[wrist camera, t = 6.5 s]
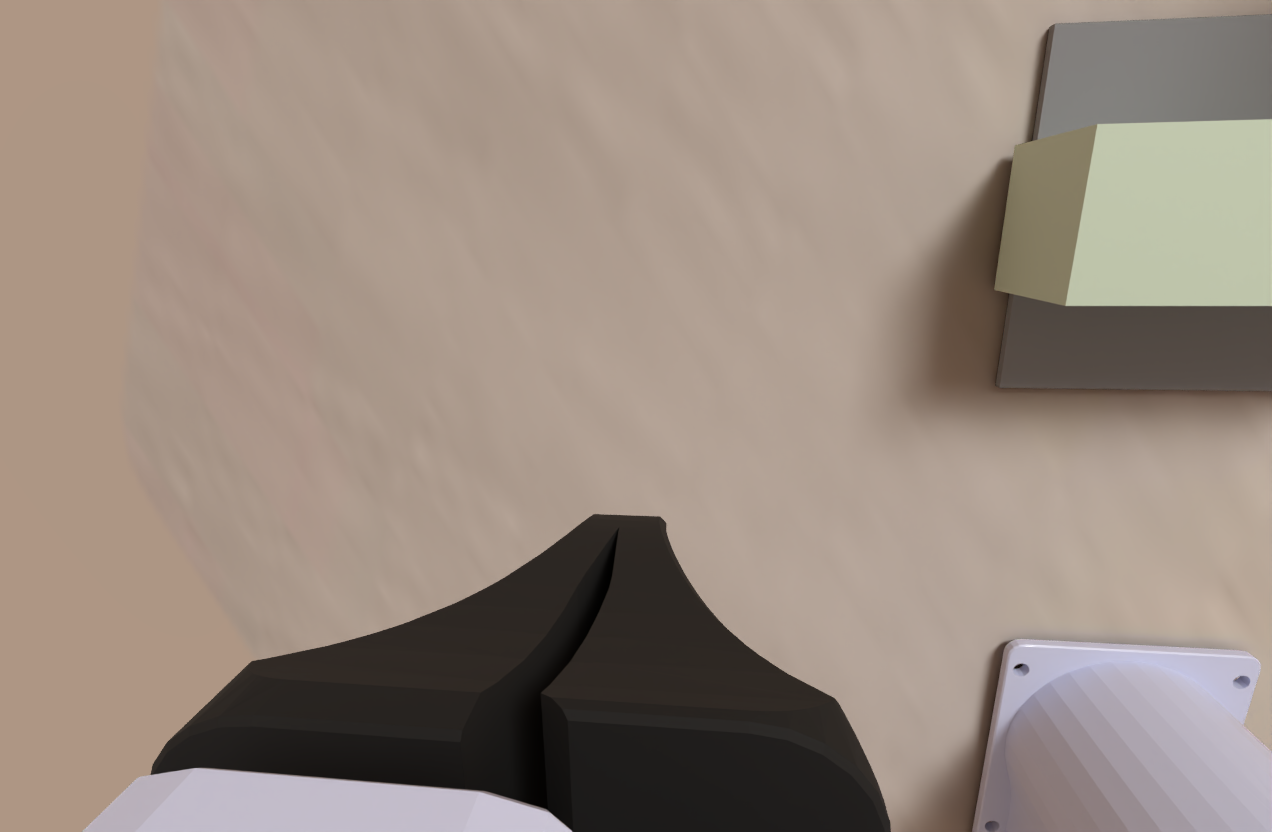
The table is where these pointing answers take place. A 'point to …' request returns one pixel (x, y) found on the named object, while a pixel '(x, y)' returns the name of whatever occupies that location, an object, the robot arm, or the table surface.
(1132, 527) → the table surface
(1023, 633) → the table surface
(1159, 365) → the mat
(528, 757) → the robot arm
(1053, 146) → the sage block
